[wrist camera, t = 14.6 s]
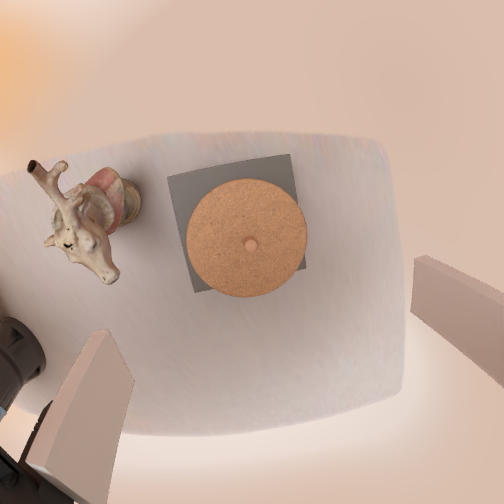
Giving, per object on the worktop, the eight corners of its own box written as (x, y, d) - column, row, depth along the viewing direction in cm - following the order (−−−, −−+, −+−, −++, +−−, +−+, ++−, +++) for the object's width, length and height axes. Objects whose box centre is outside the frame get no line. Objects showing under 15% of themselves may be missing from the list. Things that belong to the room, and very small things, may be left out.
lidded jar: (181, 191, 29) (168, 198, 20) (275, 168, 30) (301, 166, 21) (206, 279, 32) (205, 318, 23) (292, 257, 33) (321, 287, 24)
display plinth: (198, 266, 42) (194, 292, 32) (178, 176, 38) (167, 177, 28) (285, 247, 43) (306, 268, 33) (271, 159, 39) (289, 154, 29)
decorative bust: (154, 263, 39) (59, 326, 15) (89, 231, 38) (-30, 251, 13) (182, 196, 38) (102, 170, 14) (113, 167, 37) (0, 128, 12)
